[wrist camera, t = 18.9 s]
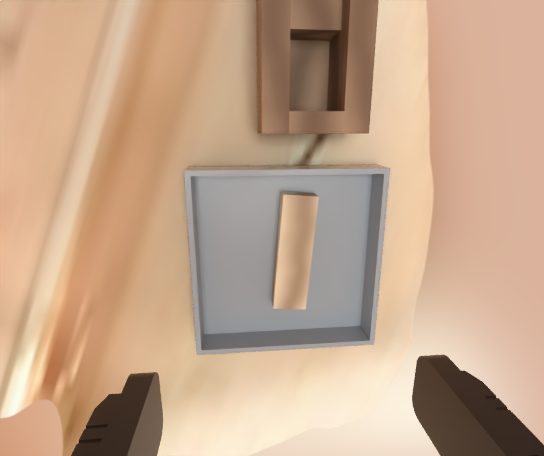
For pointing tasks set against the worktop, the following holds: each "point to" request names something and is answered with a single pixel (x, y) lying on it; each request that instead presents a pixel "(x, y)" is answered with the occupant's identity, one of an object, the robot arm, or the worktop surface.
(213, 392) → the worktop surface
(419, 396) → the robot arm
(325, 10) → the walnut frame
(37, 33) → the worktop surface
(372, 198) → the slate tray
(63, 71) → the worktop surface
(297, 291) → the maple bar
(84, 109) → the worktop surface
